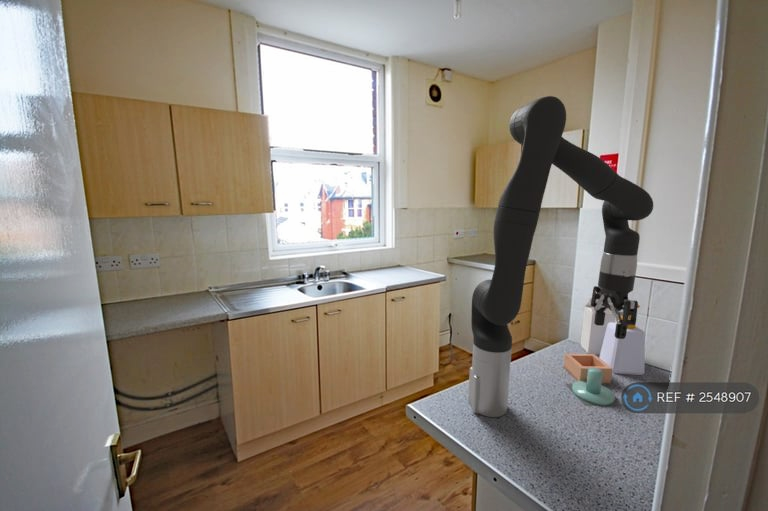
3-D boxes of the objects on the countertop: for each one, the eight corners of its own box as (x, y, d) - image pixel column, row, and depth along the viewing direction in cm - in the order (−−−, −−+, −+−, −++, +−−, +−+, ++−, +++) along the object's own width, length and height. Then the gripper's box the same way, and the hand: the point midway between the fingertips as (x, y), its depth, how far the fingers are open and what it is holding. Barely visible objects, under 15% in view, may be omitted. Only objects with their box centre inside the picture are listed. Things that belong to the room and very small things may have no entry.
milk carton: (610, 356, 115) (617, 302, 112) (587, 354, 117) (593, 301, 113) (601, 347, 122) (608, 296, 119) (580, 345, 123) (585, 295, 120)
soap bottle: (621, 355, 116) (629, 293, 112) (646, 377, 102) (656, 306, 98) (591, 353, 117) (598, 291, 113) (611, 374, 103) (620, 305, 99)
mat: (584, 406, 88) (584, 405, 88) (564, 385, 98) (564, 383, 98) (623, 406, 88) (623, 405, 88) (599, 385, 98) (599, 384, 98)
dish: (579, 384, 98) (581, 368, 97) (563, 368, 107) (564, 353, 106) (610, 384, 98) (612, 368, 97) (592, 368, 107) (593, 353, 106)
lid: (584, 405, 88) (587, 380, 87) (564, 384, 98) (567, 361, 97) (623, 405, 88) (626, 380, 87) (599, 384, 98) (602, 361, 96)
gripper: (586, 264, 93) (579, 321, 96) (621, 277, 79) (611, 342, 82) (614, 265, 93) (606, 321, 96) (654, 278, 79) (643, 343, 82)
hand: (608, 331), depth 89 cm, fingers open, 8 cm apart
